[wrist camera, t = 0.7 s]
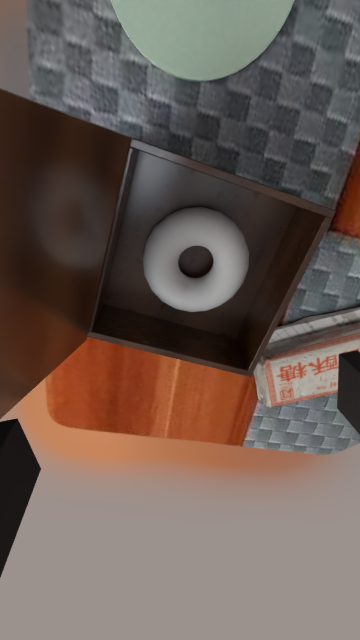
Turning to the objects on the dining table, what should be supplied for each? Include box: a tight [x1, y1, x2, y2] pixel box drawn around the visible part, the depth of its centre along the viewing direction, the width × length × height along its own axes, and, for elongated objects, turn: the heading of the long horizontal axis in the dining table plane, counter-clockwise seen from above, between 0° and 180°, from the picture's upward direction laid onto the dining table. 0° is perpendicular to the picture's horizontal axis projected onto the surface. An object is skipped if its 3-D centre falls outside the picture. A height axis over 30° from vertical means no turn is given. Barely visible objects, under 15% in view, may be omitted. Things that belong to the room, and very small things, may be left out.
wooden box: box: [87, 137, 336, 377], centre depth 30 cm, size 16×16×7 cm
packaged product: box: [254, 307, 360, 408], centre depth 36 cm, size 18×5×10 cm
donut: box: [142, 207, 249, 312], centre depth 30 cm, size 10×4×10 cm
